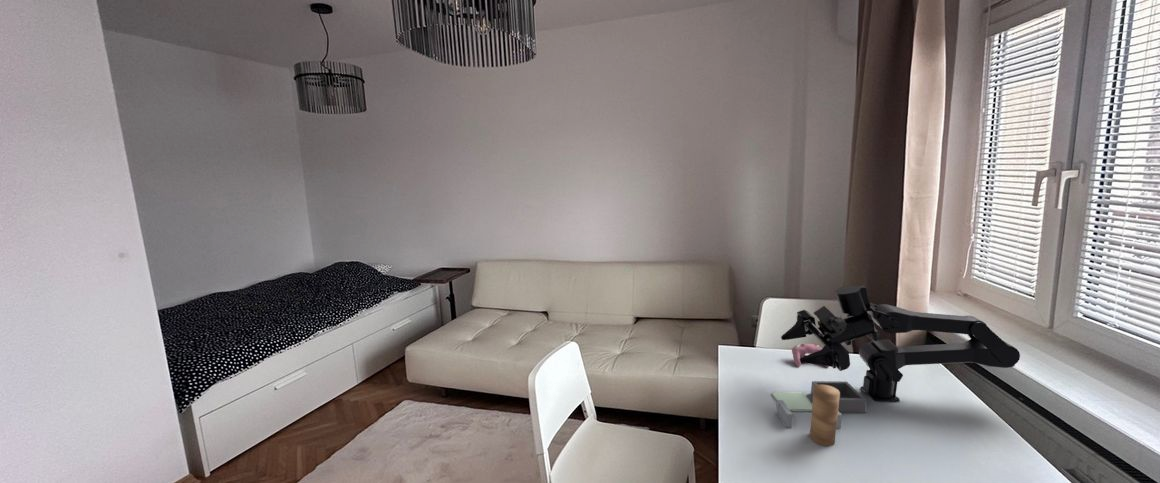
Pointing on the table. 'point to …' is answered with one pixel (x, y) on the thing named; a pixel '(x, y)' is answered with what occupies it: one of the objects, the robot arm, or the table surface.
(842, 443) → the table surface
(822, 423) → the walnut post
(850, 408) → the gray open box
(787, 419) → the channel
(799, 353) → the video game controller
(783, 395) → the pad
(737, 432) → the table surface
